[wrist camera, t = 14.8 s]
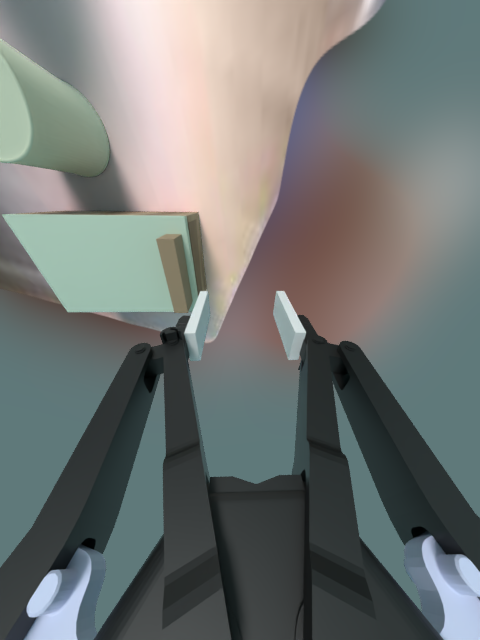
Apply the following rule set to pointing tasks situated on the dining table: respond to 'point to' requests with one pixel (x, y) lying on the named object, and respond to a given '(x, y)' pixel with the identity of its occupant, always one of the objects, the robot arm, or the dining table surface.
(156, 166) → the dining table surface
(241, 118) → the dining table surface
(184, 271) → the lid
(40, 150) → the can
